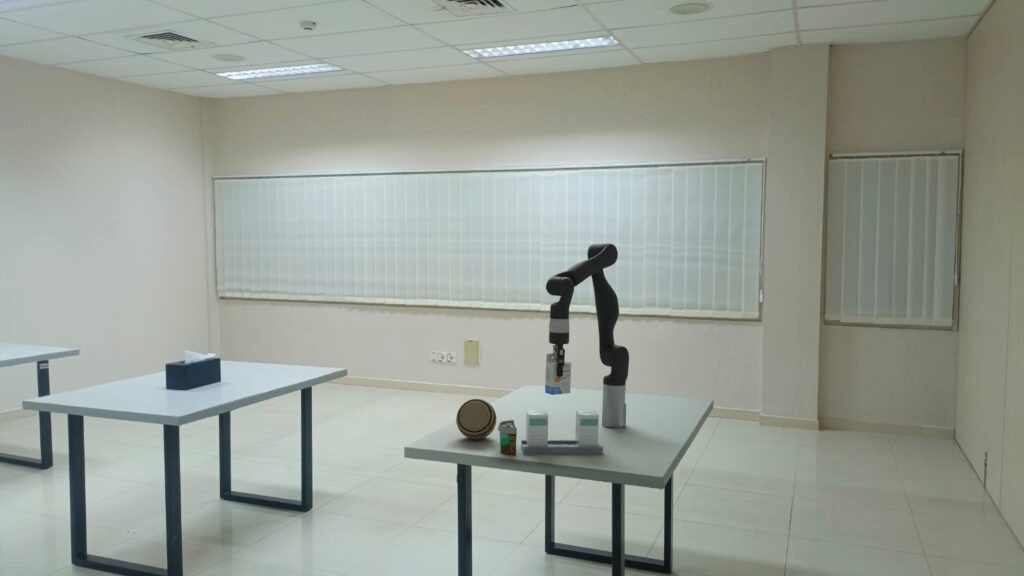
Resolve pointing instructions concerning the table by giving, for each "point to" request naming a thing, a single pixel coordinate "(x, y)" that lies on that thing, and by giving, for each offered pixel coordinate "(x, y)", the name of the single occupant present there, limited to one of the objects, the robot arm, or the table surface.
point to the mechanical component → (476, 419)
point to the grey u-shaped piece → (581, 445)
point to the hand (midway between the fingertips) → (558, 374)
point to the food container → (507, 437)
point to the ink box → (557, 383)
